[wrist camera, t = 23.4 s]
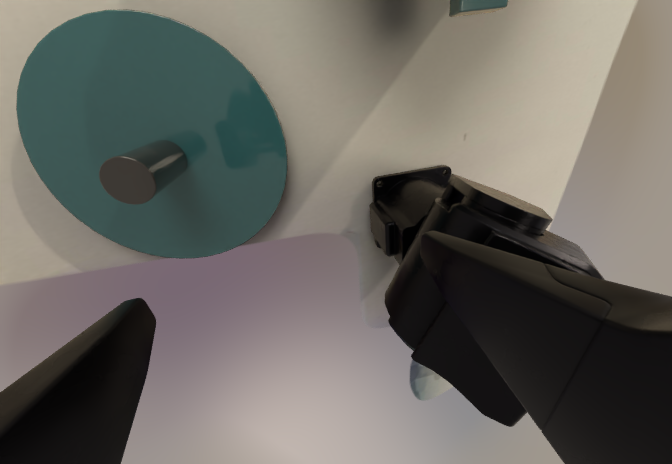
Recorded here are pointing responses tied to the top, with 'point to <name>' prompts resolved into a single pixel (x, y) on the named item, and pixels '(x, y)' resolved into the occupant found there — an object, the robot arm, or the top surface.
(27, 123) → the lid
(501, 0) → the teal cooking pot
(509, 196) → the robot arm
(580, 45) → the top surface
